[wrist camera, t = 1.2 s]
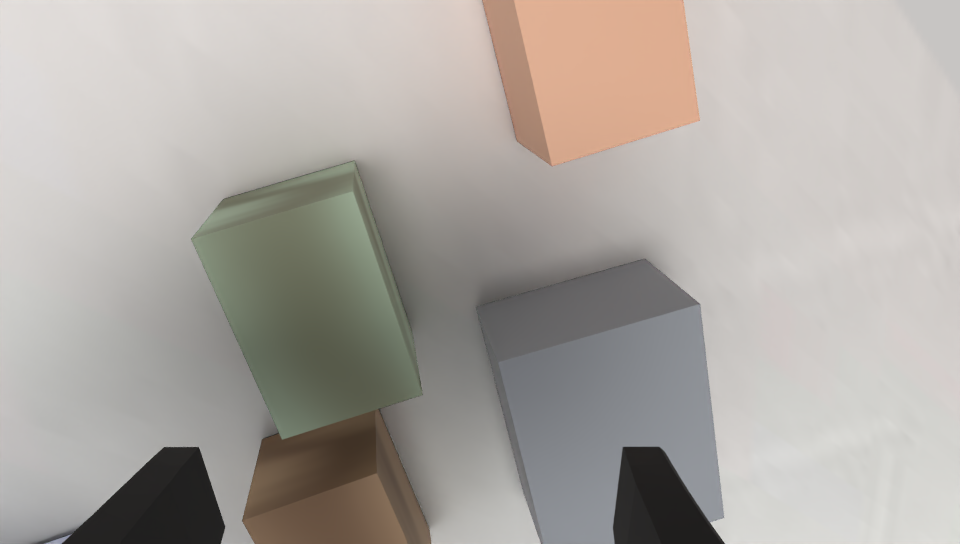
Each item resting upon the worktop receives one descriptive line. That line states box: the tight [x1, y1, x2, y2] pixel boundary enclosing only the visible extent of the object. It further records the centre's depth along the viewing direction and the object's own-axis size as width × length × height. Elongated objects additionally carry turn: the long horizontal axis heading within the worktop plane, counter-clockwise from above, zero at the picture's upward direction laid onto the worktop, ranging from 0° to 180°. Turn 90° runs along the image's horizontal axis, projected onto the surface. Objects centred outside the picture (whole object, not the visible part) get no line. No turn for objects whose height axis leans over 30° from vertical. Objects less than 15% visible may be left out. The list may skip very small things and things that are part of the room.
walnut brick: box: [242, 409, 431, 544], centre depth 22 cm, size 4×6×4 cm, turn 17°
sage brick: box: [191, 161, 423, 440], centre depth 19 cm, size 4×6×4 cm, turn 15°
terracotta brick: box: [482, 0, 700, 166], centre depth 18 cm, size 4×6×4 cm, turn 15°
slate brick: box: [476, 259, 724, 544], centre depth 22 cm, size 6×8×4 cm
